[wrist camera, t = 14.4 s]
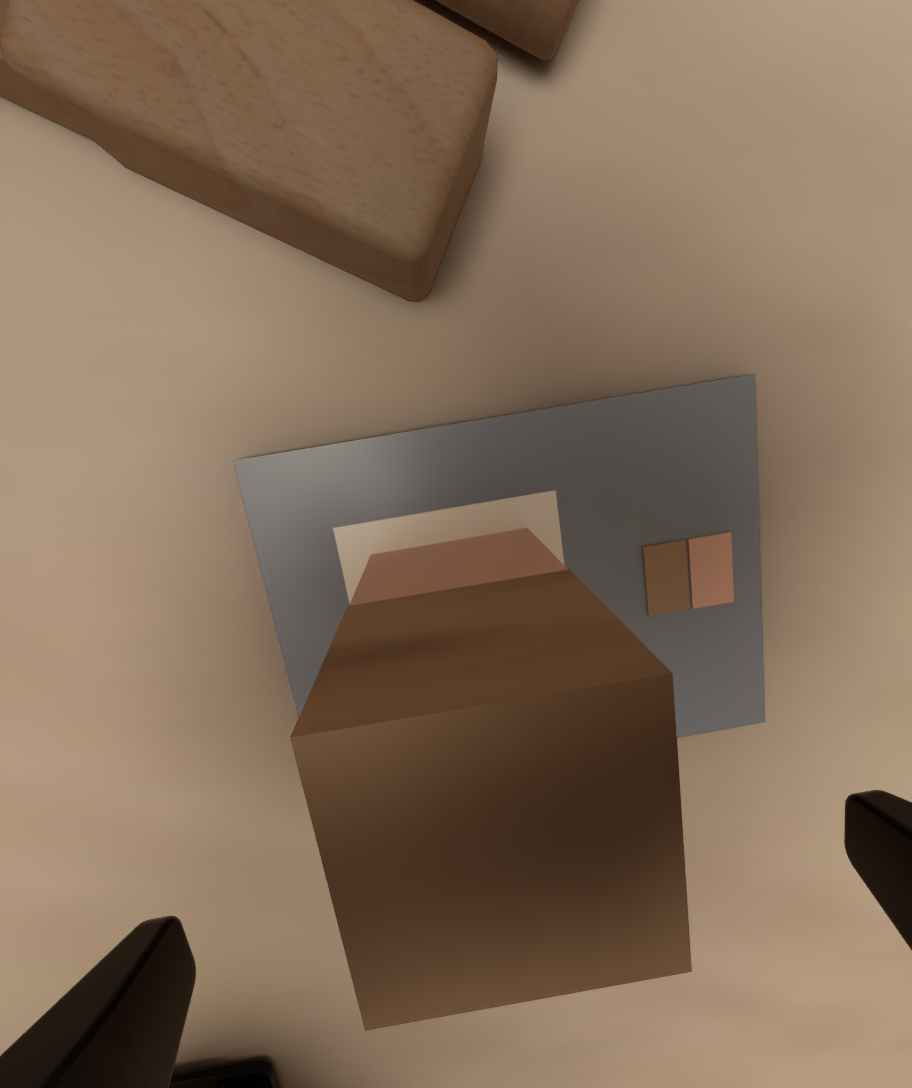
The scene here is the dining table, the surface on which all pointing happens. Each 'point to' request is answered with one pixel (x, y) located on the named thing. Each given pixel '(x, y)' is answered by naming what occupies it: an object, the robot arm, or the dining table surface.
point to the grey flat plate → (545, 525)
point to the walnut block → (495, 799)
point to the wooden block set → (286, 109)
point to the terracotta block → (454, 565)
